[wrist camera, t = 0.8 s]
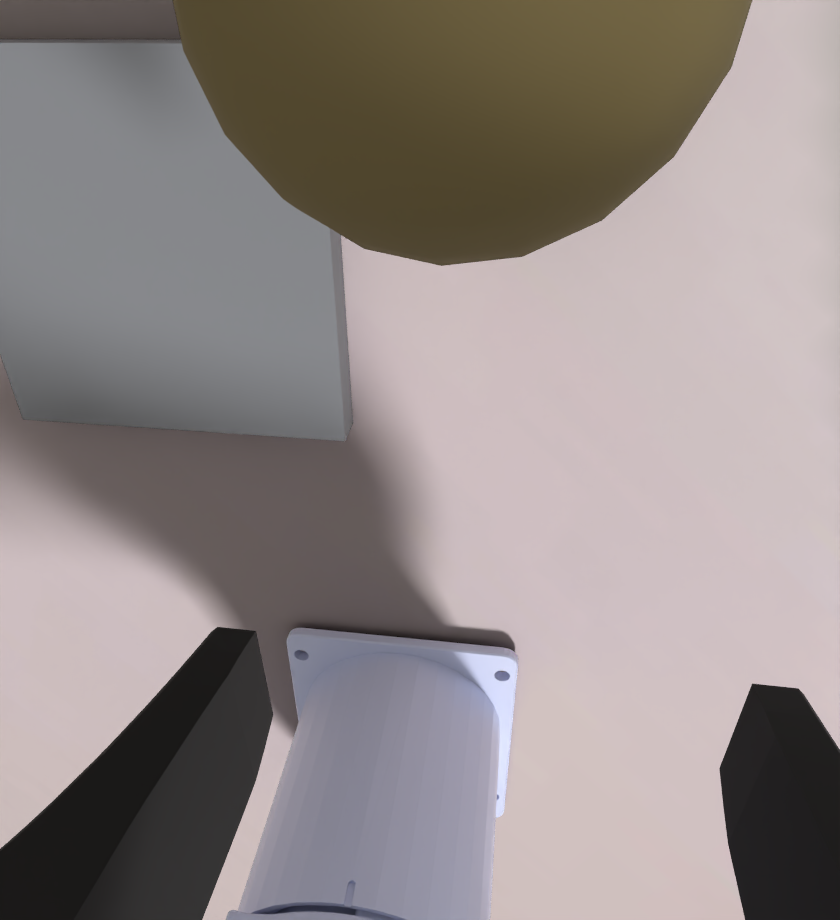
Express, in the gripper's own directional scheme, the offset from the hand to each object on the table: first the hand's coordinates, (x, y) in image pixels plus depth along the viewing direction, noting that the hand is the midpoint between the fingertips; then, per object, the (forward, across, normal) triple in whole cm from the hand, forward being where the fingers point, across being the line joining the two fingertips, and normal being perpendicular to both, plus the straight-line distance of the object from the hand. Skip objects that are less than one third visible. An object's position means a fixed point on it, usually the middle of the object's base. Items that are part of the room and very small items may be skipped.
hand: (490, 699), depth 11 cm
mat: (+10, +9, -3) cm, 14 cm away
